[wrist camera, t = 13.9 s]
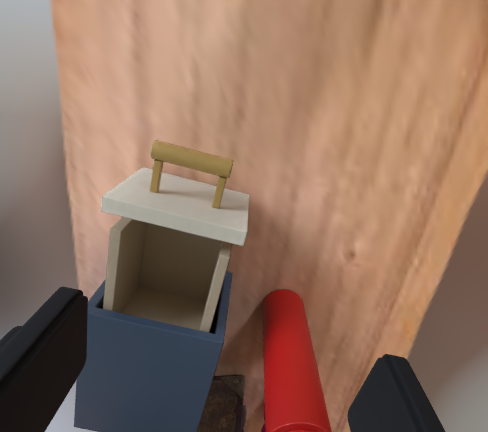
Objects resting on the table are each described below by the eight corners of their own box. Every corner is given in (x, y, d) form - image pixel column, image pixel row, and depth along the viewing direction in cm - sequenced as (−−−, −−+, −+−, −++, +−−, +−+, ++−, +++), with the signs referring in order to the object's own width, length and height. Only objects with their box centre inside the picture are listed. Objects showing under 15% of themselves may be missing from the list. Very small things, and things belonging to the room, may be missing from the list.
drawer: (148, 124, 27) (106, 139, 20) (260, 154, 28) (262, 179, 20) (127, 282, 34) (90, 339, 26) (219, 303, 35) (208, 364, 27)
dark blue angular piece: (129, 248, 33) (79, 311, 24) (232, 273, 34) (223, 343, 25) (117, 345, 39) (73, 427, 30) (205, 365, 40) (190, 450, 30)
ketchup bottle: (268, 284, 35) (280, 474, 18) (309, 294, 35) (359, 489, 18) (257, 317, 36) (258, 516, 20) (295, 326, 37) (329, 529, 20)
